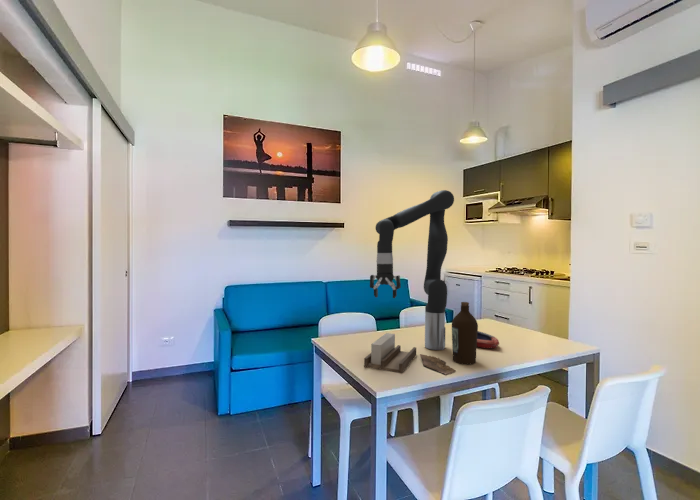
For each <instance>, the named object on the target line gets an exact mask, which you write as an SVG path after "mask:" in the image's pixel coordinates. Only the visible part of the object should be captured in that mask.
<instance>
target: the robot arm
mask: <svg viewBox="0 0 700 500" xmlns="http://www.w3.org/2000/svg"><path fill="white" fill-rule="evenodd" d="M454 202H455V196H454V194H453V193H452V192H451V191H449V190H448V189H447V190H446V189H443V190H439V191H436V192H433V194H432V195H431V196H430V198H429V199H427V200H425V201H424V202H421V203H419V204H416V205H412V206H411V207H408V208H405V209H402V210H401V211H399V212H397V213H395V214H393V215H391V216H388V217H386V218H383V219H381V220H379V221H378V222H377V223H376V224H375V232H376V233H377V234H378V237H379V238H378V241H377V243H376V245H377V247H376V274H375V275H374V274H370V275H369V276H370V277H369V288H371V289H373V296H374V298H378V297H379V289H378V288H379V287H380V285H382V286H383V285H387V286H388V285H389V286H390V287H391V288H392V299H396V297H397V295H398V294H397V291H398V290H400V288H401V276H400V275H394V255H393V241H394V240H393V239H394V233H395V230H397V229H400V228H404V227H406V226H408V225H410V224H412V223H414V222H416V221H418V220H420V219H422V218H424V217H426V216H428V215H429V228H428V239H427V250H426V251H427V253H426V255H427V256H426V270H425V276H424V281H423V290H424V293H425V294H426V295H427V303H426V305H425V306H424V307H425V310H424V314H425V315H424V348H426V349H429V350H433V351H435V350H436V351H441V350H442V351H444V349H445V348H446V326H445V324H446V308H447V303H448V285H447V283H446V282H445V281H444V280H443V279H441V275H442V274H441V273H442V272H441V271H442V266H443V263H444V261H445V258H446V256H447V251H448V242H449V240H448V239H449V237H448V231H447V229H446V225H445V212H446V210H448V209H450V208H451V207H452V206H453V205H454ZM375 280H376V283H375ZM393 280H395V282H396V285H395V283H394V282H393Z"/></svg>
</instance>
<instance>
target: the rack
mask: <svg viewBox="0 0 700 500" xmlns="http://www.w3.org/2000/svg"><path fill="white" fill-rule="evenodd" d="M416 356H417V347H415V346H414V347H412V349H411V350H410V351H402V350H401V345H397V346H395V349H393V350H392V351H391V352H390V353H389V354H388V355H387V356H386V357H385V358H384V359H383V360H382V361H381V365H376V364H371V352H370V353H369V354H367V355H366V356H365V357H364V359H363V367H364V368H368V369H376V370H380V371H381V370H382V371H387V372H394V373H401V374H402V373H403V372H405V370H406V369H407V368H408V366H409V365H410V364H411V362H412V361H413V360H414V358H416Z"/></svg>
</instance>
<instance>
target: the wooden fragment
mask: <svg viewBox="0 0 700 500" xmlns="http://www.w3.org/2000/svg"><path fill="white" fill-rule="evenodd" d="M419 356H420V359H421V362H422V365H423V366H424V367H427V368H428V369H431V370H433V371H435V372H439V373H442V374H445V376H448V375H452V374H454V373H455V372H456V371H457V370H456V369H454V368H452V367H450V365H447V362H446V361H445V360H443V359H440V358H439V357H436V356H433V355H432V356H431V355H427V354H423V353H421V354H419Z"/></svg>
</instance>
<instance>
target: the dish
mask: <svg viewBox="0 0 700 500" xmlns="http://www.w3.org/2000/svg"><path fill="white" fill-rule="evenodd" d="M499 345H500V342H499V339H498V338H497V337H495V336H494V335H492V334H489V333H487V332H482V331H479V330H478V333H477V348H482V349H496V348H498V346H499Z"/></svg>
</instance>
